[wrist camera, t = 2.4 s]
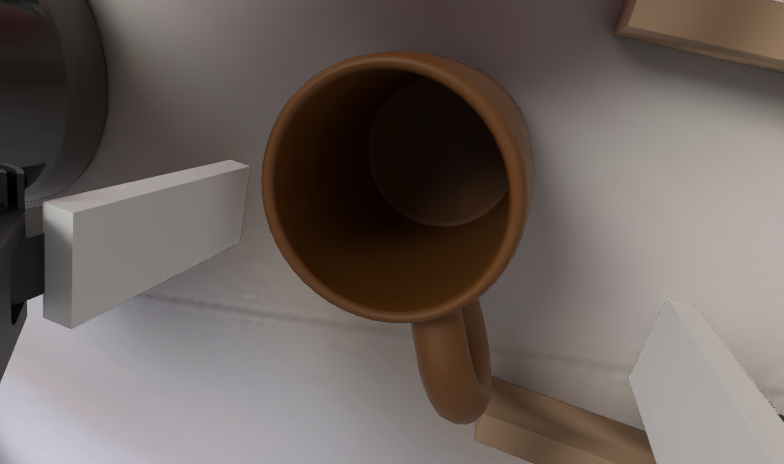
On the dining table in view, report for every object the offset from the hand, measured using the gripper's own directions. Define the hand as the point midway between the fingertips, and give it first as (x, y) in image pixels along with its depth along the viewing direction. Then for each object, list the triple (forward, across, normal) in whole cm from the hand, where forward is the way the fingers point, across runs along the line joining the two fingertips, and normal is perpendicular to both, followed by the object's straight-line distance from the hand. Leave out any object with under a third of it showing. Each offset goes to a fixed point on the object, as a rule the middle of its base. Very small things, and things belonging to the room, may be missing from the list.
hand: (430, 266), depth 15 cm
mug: (+8, 0, 0) cm, 8 cm away
